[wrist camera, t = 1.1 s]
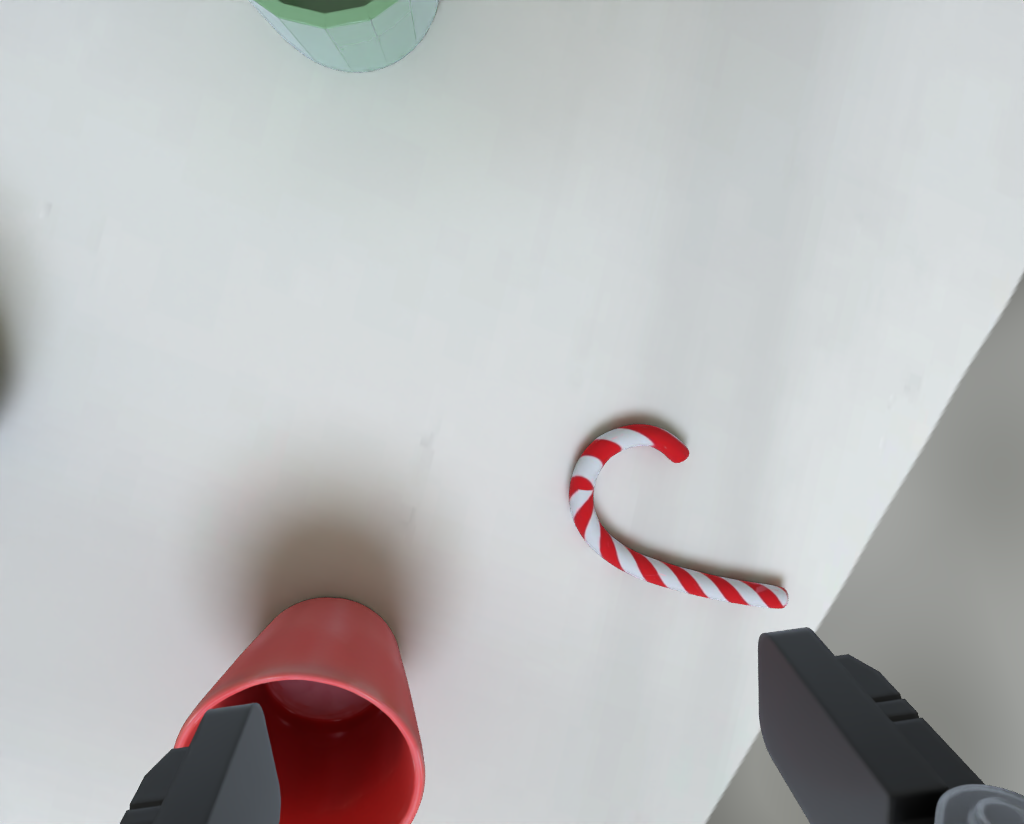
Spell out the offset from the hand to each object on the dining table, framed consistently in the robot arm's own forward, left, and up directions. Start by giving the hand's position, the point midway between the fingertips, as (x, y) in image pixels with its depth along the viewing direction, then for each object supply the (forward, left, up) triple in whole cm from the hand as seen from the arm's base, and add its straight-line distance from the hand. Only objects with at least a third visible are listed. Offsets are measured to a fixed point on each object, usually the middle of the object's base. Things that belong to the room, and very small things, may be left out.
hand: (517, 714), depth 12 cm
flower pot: (+18, -4, -28) cm, 33 cm away
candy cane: (+7, +14, -28) cm, 32 cm away
